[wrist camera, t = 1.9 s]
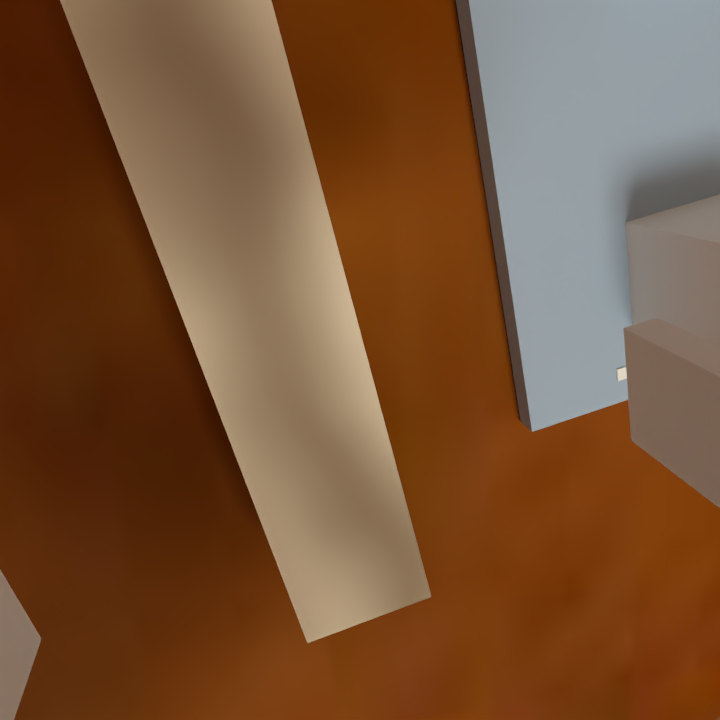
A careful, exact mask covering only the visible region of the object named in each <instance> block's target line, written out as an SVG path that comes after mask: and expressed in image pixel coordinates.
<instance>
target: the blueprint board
mask: <svg viewBox="0 0 720 720" xmlns="http://www.w3.org/2000/svg"><path fill="white" fill-rule="evenodd" d="M456 5H457V12H458V18H459V25H460V31H461V38H462V44H463V51H464V57H465V64H466V70H467V77H468V83H469V90H470V96H471V103H472V109H473V116H474V122H475V129H476V135H477V142H478V148H479V155H480V161H481V168H482V174H483V181H484V187H485V194H486V200H487V207H488V213H489V220H490V226H491V233H492V239H493V246H494V252H495V259H496V265H497V272H498V278H499V285H500V291H501V298H502V304H503V311H504V317H505V324H506V330H507V336H508V343H509V349H510V356H511V362H512V369H513V375H514V382H515V388H516V395H517V401H518V408H519V414H520V421H521V422H522V423H523V424H524V425H525V426H526V427H528V428H529V429H530V430H531V431H532V432H533V431H536V430H539V429H542V428H545V427H548V426H551V425H554V424H557V423H560V422H563V421H566V420H569V419H572V418H575V417H578V416H581V415H584V414H587V413H590V412H593V411H596V410H599V409H602V408H605V407H608V406H610V405H613V404H616V403H619V402H622V401H625V400H628V386H627V371H626V357H625V343H624V329H623V328H625V327H629V326H632V325H635V324H638V323H641V322H644V321H648V320H651V319H654V318H659V319H661V320H663V321H666V322H668V323H670V324H672V325H675V326H677V327H679V328H681V329H684V330H686V331H688V332H690V333H693V334H695V335H697V336H700V337H702V338H704V339H706V340H709V341H711V342H713V343H715V344H718V345H720V0H456Z"/></svg>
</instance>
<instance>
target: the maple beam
mask: <svg viewBox="0 0 720 720" xmlns="http://www.w3.org/2000/svg"><path fill="white" fill-rule="evenodd" d="M60 2H61V4H62V7H63V9H64V12H65V15H66V17H67V20H68V22H69V25H70V28H71V30H72V33H73V35H74V38H75V41H76V43H77V46H78V48H79V51H80V54H81V56H82V59H83V61H84V64H85V67H86V69H87V72H88V74H89V77H90V80H91V82H92V85H93V87H94V90H95V93H96V95H97V98H98V100H99V103H100V106H101V108H102V111H103V113H104V116H105V119H106V121H107V124H108V126H109V129H110V132H111V134H112V137H113V139H114V142H115V145H116V147H117V150H118V152H119V155H120V158H121V160H122V163H123V165H124V168H125V170H126V173H127V176H128V178H129V181H130V183H131V186H132V189H133V191H134V194H135V196H136V199H137V202H138V204H139V207H140V209H141V212H142V215H143V217H144V220H145V222H146V225H147V228H148V230H149V233H150V235H151V238H152V241H153V243H154V246H155V248H156V251H157V254H158V256H159V259H160V261H161V264H162V267H163V269H164V272H165V274H166V277H167V280H168V282H169V285H170V287H171V290H172V293H173V295H174V298H175V300H176V303H177V306H178V308H179V311H180V313H181V316H182V319H183V321H184V324H185V326H186V329H187V332H188V334H189V337H190V339H191V342H192V345H193V347H194V350H195V352H196V355H197V358H198V360H199V363H200V365H201V368H202V371H203V373H204V376H205V378H206V381H207V383H208V386H209V389H210V391H211V394H212V396H213V399H214V402H215V404H216V407H217V409H218V412H219V415H220V417H221V420H222V422H223V425H224V428H225V430H226V433H227V435H228V438H229V441H230V443H231V446H232V448H233V451H234V454H235V456H236V459H237V461H238V464H239V467H240V469H241V472H242V474H243V477H244V480H245V482H246V485H247V487H248V490H249V493H250V495H251V498H252V500H253V503H254V506H255V508H256V511H257V513H258V516H259V519H260V521H261V524H262V526H263V529H264V532H265V534H266V537H267V539H268V542H269V545H270V547H271V550H272V552H273V555H274V558H275V560H276V563H277V565H278V568H279V571H280V573H281V576H282V578H283V581H284V584H285V586H286V589H287V591H288V594H289V596H290V599H291V602H292V604H293V607H294V609H295V612H296V615H297V617H298V620H299V622H300V625H301V628H302V630H303V633H304V635H305V638H306V641H307V643H309V642H312V641H315V640H317V639H320V638H323V637H325V636H328V635H331V634H333V633H336V632H339V631H341V630H344V629H347V628H349V627H352V626H355V625H357V624H360V623H363V622H365V621H368V620H371V619H373V618H376V617H379V616H381V615H384V614H387V613H389V612H392V611H395V610H397V609H400V608H403V607H405V606H408V605H411V604H413V603H416V602H419V601H421V600H424V599H427V598H429V597H431V594H430V590H429V586H428V582H427V579H426V575H425V571H424V567H423V564H422V560H421V556H420V553H419V549H418V545H417V541H416V538H415V534H414V530H413V526H412V523H411V519H410V515H409V512H408V508H407V504H406V500H405V497H404V493H403V489H402V485H401V482H400V478H399V474H398V471H397V467H396V463H395V459H394V456H393V452H392V448H391V444H390V441H389V437H388V433H387V429H386V426H385V422H384V418H383V415H382V411H381V407H380V403H379V400H378V396H377V392H376V388H375V385H374V381H373V377H372V374H371V370H370V366H369V362H368V359H367V355H366V351H365V347H364V344H363V340H362V336H361V333H360V329H359V325H358V321H357V318H356V314H355V310H354V306H353V303H352V299H351V295H350V291H349V288H348V284H347V280H346V277H345V273H344V269H343V265H342V262H341V258H340V254H339V250H338V247H337V243H336V239H335V236H334V232H333V228H332V224H331V221H330V217H329V213H328V209H327V206H326V202H325V198H324V195H323V191H322V187H321V183H320V180H319V176H318V172H317V168H316V165H315V161H314V157H313V153H312V150H311V146H310V142H309V139H308V135H307V131H306V127H305V124H304V120H303V116H302V112H301V109H300V105H299V101H298V98H297V94H296V90H295V86H294V83H293V79H292V75H291V71H290V68H289V64H288V60H287V57H286V53H285V49H284V45H283V42H282V38H281V34H280V30H279V27H278V23H277V19H276V15H275V12H274V8H273V4H272V1H271V0H60Z"/></svg>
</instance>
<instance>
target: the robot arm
mask: <svg viewBox="0 0 720 720" xmlns="http://www.w3.org/2000/svg"><path fill="white" fill-rule="evenodd" d="M623 329H624V343H625V357H626V371H627V386H628V400H629V414H630V429H631V441H633V442H634V443H635V444H637V445H638V446H639V447H641V448H642V449H643V450H644V451H646V452H647V453H648V454H650V455H651V456H652V457H654V458H655V459H656V460H658V461H659V462H660V463H661V464H663V465H664V466H665V467H667V468H668V469H669V470H671V471H672V472H673V473H674V474H676V475H677V476H678V477H680V478H681V479H682V480H684V481H685V482H686V483H688V484H689V485H690V486H691V487H693V488H694V489H695V490H697V491H698V492H699V493H701V494H702V495H703V496H704V497H706V498H707V499H708V500H710V501H711V502H712V503H714V504H715V505H716V506H718V507H719V508H720V345H718V344H715V343H713V342H711V341H709V340H706V339H704V338H702V337H700V336H697V335H695V334H693V333H690V332H688V331H686V330H684V329H681V328H679V327H677V326H675V325H672V324H670V323H668V322H666V321H663V320H661V319H659V318H654V319H651V320H648V321H644V322H641V323H638V324H635V325H632V326H629V327H625V328H623ZM40 642H41V637H40V636H39V634H38V632H37V630H36V629H35V627H34V625H33V624H32V622H31V620H30V619H29V617H28V615H27V614H26V612H25V610H24V609H23V607H22V605H21V604H20V602H19V600H18V599H17V597H16V595H15V593H14V592H13V590H12V588H11V587H10V585H9V583H8V582H7V580H6V578H5V577H4V575H3V573H2V572H1V570H0V720H14V718H15V715H16V712H17V709H18V707H19V704H20V701H21V698H22V695H23V692H24V689H25V686H26V683H27V680H28V677H29V674H30V671H31V668H32V665H33V662H34V659H35V657H36V654H37V651H38V648H39V645H40Z"/></svg>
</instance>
